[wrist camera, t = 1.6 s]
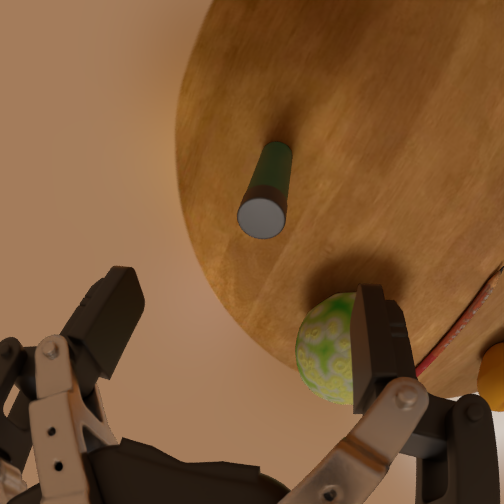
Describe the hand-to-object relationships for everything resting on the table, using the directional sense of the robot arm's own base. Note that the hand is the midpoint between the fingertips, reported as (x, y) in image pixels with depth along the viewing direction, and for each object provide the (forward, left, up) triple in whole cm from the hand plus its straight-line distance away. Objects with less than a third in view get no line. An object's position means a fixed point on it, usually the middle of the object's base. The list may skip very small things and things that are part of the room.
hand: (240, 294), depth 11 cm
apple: (+36, +11, -14) cm, 40 cm away
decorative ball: (+16, -3, -14) cm, 22 cm away
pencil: (+26, +6, -14) cm, 30 cm away
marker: (0, 0, -14) cm, 14 cm away
